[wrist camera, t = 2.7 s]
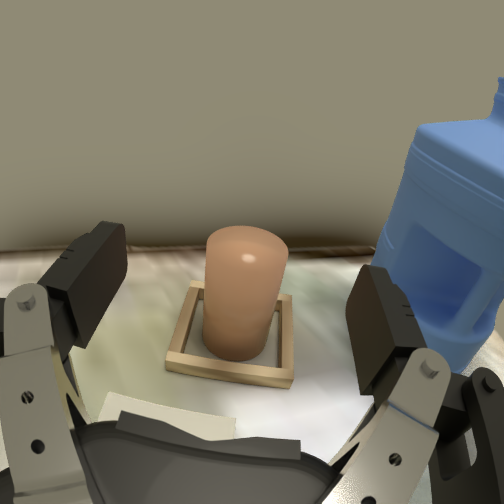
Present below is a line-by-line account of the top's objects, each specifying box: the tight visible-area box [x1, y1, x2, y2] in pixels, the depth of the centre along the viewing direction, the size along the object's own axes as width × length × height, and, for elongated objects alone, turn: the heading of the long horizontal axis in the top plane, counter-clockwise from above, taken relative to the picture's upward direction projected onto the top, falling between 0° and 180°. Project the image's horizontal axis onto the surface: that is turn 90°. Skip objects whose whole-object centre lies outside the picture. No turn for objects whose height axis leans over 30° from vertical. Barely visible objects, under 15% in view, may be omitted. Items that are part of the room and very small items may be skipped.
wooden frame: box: [165, 280, 294, 389], centre depth 28 cm, size 10×10×2 cm
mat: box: [97, 391, 236, 441], centre depth 17 cm, size 10×10×1 cm
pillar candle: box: [202, 226, 288, 361], centre depth 27 cm, size 6×8×10 cm
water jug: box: [371, 77, 504, 374], centre depth 23 cm, size 16×16×28 cm
